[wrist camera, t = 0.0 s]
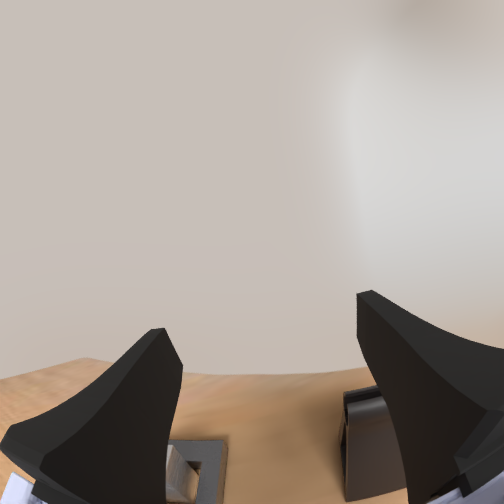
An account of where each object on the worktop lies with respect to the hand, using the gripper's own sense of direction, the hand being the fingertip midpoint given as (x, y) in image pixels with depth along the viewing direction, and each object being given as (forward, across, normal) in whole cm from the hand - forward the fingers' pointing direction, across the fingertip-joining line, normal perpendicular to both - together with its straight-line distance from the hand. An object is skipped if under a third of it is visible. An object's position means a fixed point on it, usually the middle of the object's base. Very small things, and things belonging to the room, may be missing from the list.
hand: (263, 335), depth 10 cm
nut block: (+1, +13, +22) cm, 25 cm away
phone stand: (+2, -7, +22) cm, 23 cm away
